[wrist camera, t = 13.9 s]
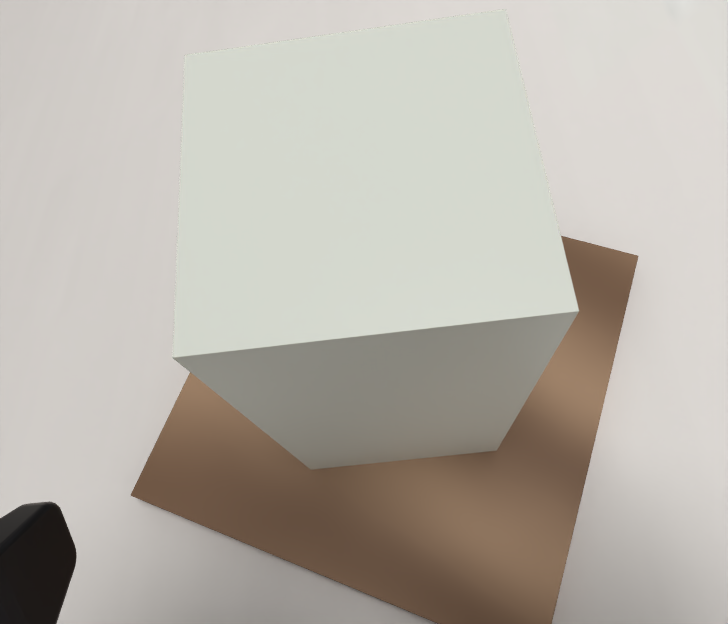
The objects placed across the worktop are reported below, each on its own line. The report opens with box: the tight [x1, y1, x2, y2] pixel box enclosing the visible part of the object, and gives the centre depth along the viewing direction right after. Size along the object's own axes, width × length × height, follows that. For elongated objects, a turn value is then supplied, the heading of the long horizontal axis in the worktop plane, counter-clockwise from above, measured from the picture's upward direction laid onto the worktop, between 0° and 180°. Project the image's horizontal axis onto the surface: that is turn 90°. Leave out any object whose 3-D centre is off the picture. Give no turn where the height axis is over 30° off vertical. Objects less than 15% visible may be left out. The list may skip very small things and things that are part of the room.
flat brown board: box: [131, 236, 638, 624], centre depth 20 cm, size 14×14×5 cm
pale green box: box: [172, 9, 579, 470], centre depth 16 cm, size 6×6×12 cm
